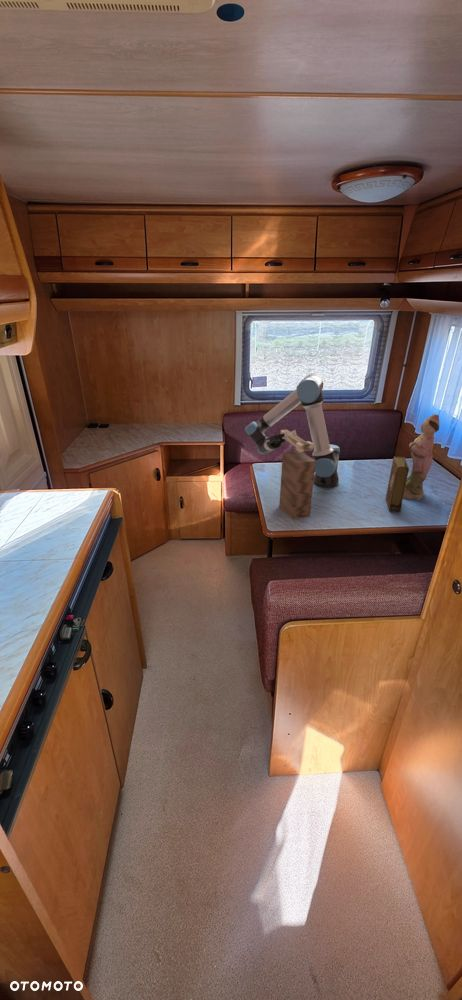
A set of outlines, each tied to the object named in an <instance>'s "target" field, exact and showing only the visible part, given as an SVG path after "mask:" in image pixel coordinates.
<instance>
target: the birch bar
mask: <svg viewBox="0 0 462 1000" xmlns="http://www.w3.org/2000/svg"><path fill="white" fill-rule="evenodd" d="M285 431H288V432H289V436H288V437H286V438H284V439H285V442H287V443H289V444H291V445H292V446H294V447H295V451H299V452H303V453H305V452H314V446H313V442H312V441H309V440H307V441H305V440H304V439H303V438H301V437H300V436H298V435H297V434H296V435H294V434H293V433H291V431H290V430H288V429H281V430H280V432H279V434H282V433H284V432H285Z"/></svg>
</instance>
